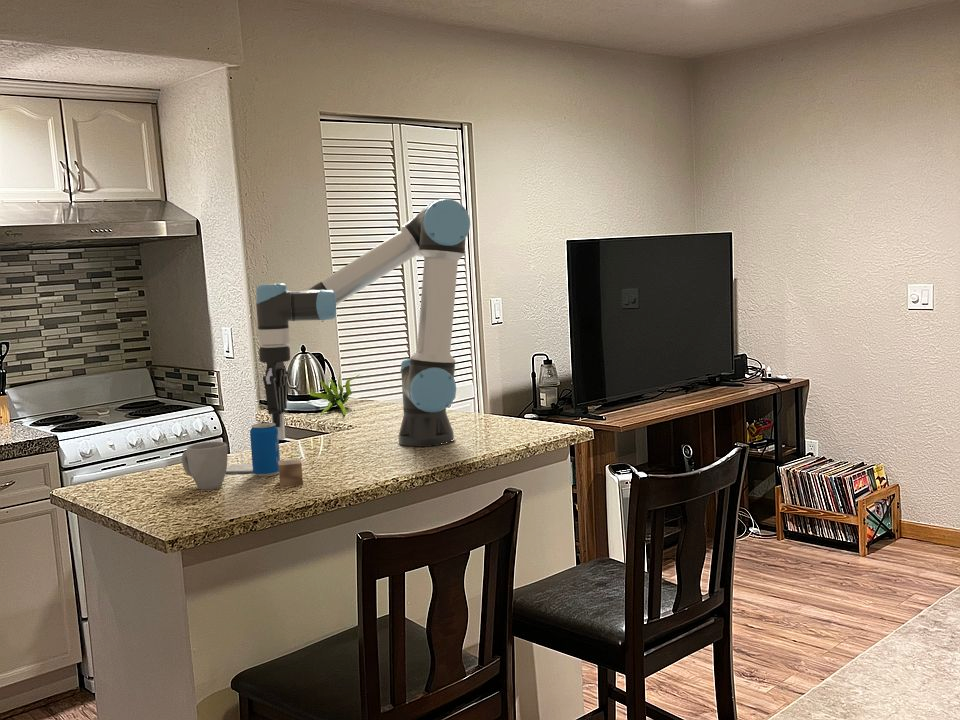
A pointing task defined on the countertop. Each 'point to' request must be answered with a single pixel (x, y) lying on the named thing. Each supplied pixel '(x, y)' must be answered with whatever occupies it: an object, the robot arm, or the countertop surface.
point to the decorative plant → (331, 396)
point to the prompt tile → (240, 469)
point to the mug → (206, 464)
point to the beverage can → (265, 449)
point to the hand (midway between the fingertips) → (279, 439)
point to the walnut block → (290, 472)
